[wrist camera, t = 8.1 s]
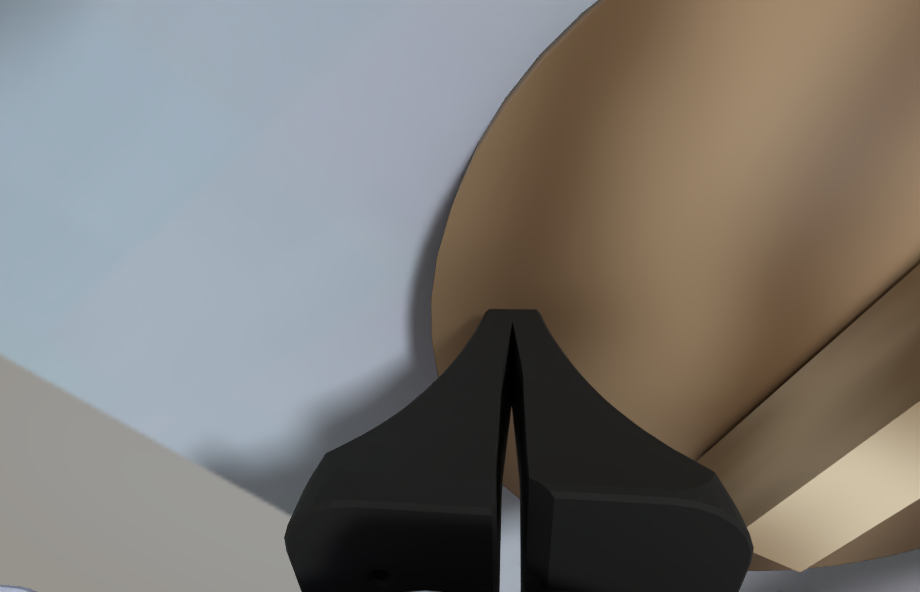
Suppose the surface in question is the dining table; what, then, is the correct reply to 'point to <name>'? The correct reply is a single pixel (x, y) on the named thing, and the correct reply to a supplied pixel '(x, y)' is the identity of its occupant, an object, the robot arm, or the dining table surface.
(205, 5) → the dining table surface
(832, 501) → the hinged leg
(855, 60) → the stool seat
